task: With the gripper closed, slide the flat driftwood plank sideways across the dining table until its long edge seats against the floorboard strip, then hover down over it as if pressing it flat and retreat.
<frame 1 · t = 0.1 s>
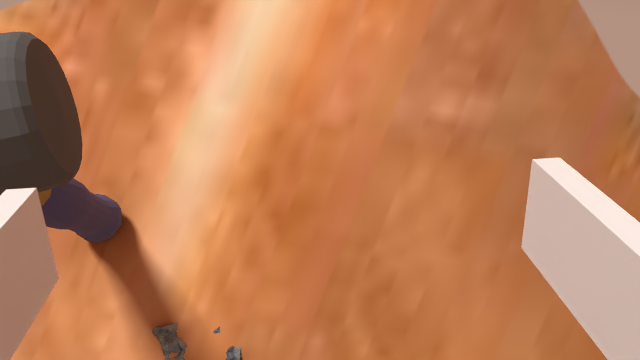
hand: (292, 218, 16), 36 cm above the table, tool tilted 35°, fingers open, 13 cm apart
rubber mallet: (104, 221, 51), on the table
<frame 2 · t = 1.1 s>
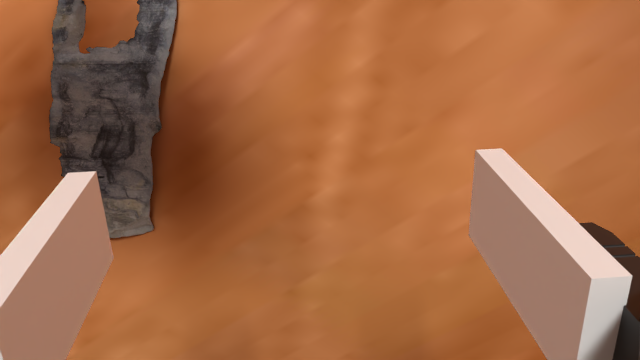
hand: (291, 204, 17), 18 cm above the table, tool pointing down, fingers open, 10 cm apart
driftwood: (121, 70, 33), on the table
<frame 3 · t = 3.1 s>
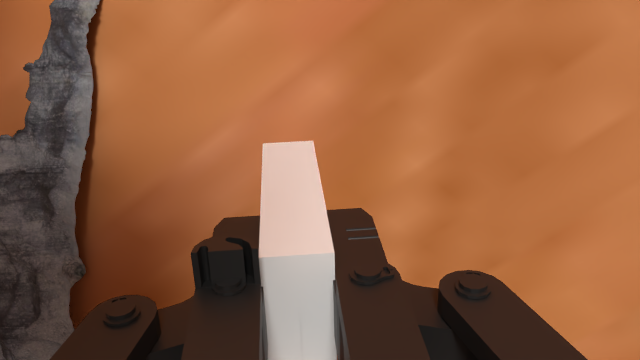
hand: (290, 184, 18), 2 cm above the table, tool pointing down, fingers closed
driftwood: (13, 179, 20), on the table
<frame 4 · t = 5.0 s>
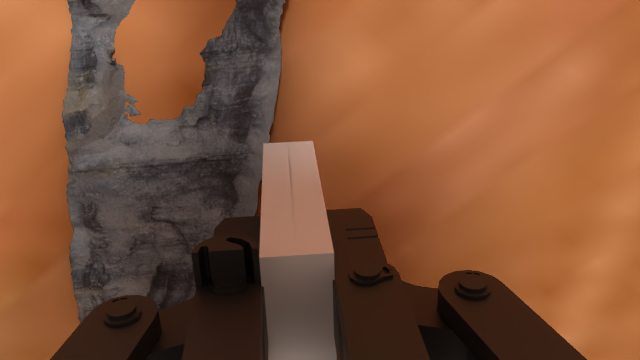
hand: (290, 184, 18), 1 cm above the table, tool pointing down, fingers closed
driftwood: (184, 168, 19), on the table, touching gripper
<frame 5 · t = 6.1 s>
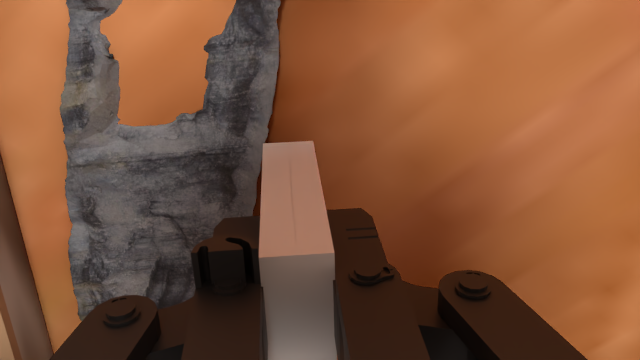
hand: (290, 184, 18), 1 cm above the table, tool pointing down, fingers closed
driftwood: (183, 162, 19), on the table
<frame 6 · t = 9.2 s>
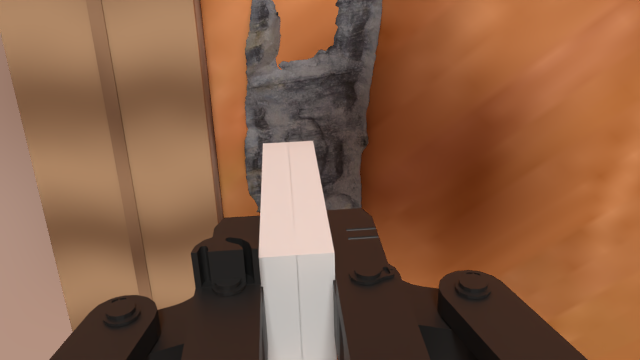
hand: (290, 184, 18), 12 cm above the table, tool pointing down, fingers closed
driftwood: (316, 85, 30), on the table
floorboard: (126, 99, 28), on the table
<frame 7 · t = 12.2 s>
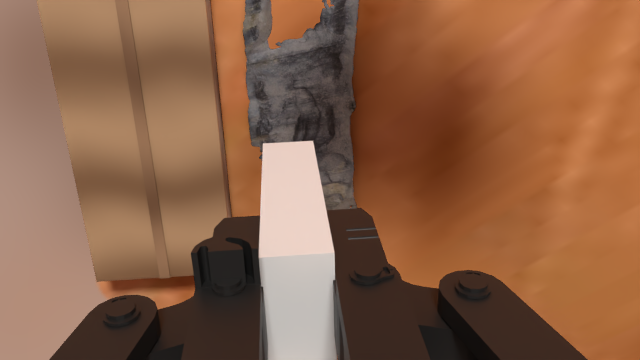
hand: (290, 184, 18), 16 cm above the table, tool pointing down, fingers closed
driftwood: (307, 58, 34), on the table
floorboard: (143, 68, 32), on the table
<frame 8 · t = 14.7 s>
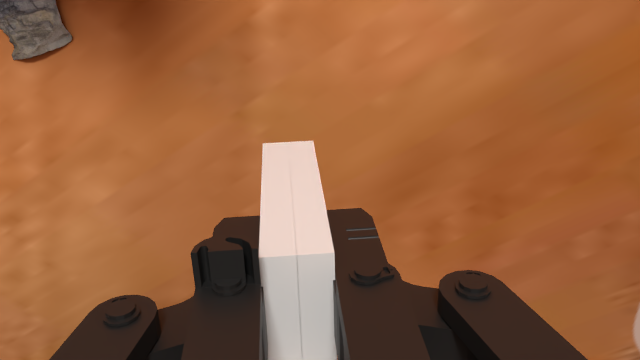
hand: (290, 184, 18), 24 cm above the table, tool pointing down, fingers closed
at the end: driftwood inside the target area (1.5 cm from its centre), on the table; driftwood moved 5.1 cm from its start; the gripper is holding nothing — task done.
